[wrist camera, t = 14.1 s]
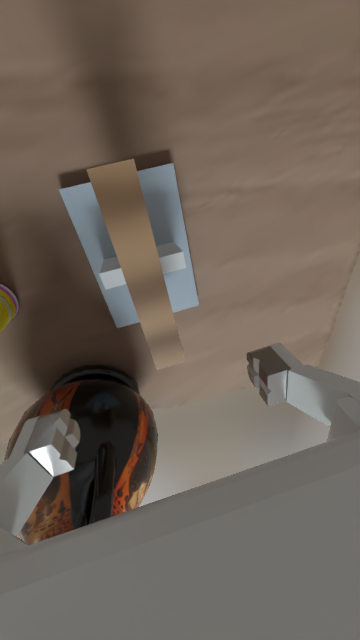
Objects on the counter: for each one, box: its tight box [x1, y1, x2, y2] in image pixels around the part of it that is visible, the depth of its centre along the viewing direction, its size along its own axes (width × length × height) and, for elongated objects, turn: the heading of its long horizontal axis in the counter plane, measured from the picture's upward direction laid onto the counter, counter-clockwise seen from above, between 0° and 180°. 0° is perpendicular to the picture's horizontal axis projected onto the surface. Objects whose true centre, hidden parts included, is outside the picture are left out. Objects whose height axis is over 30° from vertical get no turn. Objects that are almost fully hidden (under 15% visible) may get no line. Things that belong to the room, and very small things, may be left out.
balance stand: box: [59, 163, 199, 328], centre depth 30 cm, size 20×14×8 cm
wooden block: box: [86, 159, 185, 370], centre depth 24 cm, size 20×4×6 cm, turn 12°
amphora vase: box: [5, 366, 158, 546], centre depth 33 cm, size 22×22×28 cm
